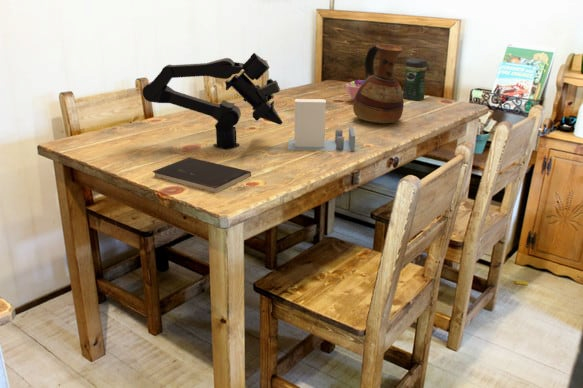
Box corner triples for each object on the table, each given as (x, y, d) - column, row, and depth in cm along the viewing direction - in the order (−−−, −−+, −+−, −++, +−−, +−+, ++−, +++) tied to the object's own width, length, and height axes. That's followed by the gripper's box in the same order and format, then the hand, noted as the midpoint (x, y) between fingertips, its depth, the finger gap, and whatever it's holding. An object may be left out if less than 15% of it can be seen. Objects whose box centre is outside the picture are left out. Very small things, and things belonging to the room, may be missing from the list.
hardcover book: (215, 195, 146) (215, 187, 145) (153, 178, 157) (152, 171, 157) (251, 177, 159) (251, 170, 158) (191, 163, 170) (190, 156, 169)
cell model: (338, 99, 257) (339, 74, 253) (377, 96, 262) (379, 73, 258) (353, 107, 242) (354, 81, 238) (394, 104, 247) (396, 79, 243)
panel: (294, 146, 183) (294, 101, 177) (294, 142, 187) (295, 98, 181) (324, 147, 182) (325, 102, 177) (324, 143, 186) (325, 99, 181)
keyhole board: (287, 152, 179) (287, 134, 177) (289, 142, 191) (289, 125, 188) (355, 154, 179) (356, 136, 177) (352, 143, 190) (353, 126, 188)
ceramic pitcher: (379, 130, 207) (385, 48, 196) (341, 119, 221) (345, 42, 210) (412, 122, 218) (420, 44, 207) (375, 112, 233) (379, 39, 221)
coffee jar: (426, 99, 259) (430, 58, 252) (417, 101, 253) (421, 60, 247) (409, 95, 265) (412, 56, 258) (399, 98, 260) (403, 58, 253)
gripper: (262, 77, 167) (298, 113, 171) (267, 67, 185) (299, 100, 188) (237, 102, 170) (273, 137, 174) (244, 90, 188) (276, 122, 192)
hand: (281, 123), depth 182 cm, fingers closed
